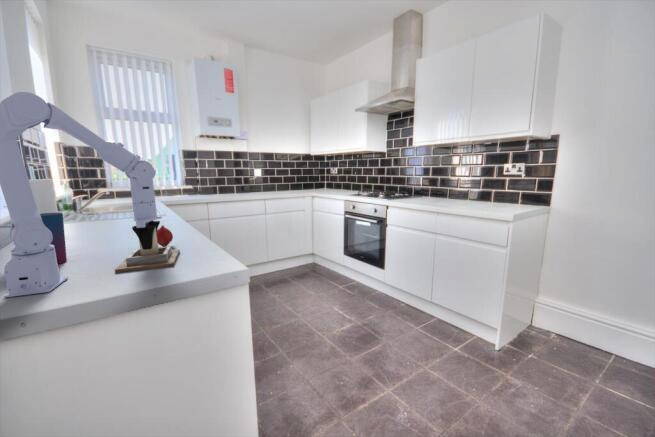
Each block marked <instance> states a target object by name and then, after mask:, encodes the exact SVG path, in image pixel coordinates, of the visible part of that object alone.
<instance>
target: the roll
mask: <svg viewBox="0 0 655 437" xmlns="http://www.w3.org/2000/svg"><path fill="white" fill-rule="evenodd" d="M138 243H139V249H140V251H141V256H147V255H155V254H158V253H159V250H158V247H159V244H158V242H157V235H156V227H155V229H154V233H153V244H152V249H146V250H143V248H142V245H141V243H140V240H139V239H138Z"/></svg>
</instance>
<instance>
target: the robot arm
mask: <svg viewBox="0 0 655 437" xmlns="http://www.w3.org/2000/svg"><path fill="white" fill-rule="evenodd" d="M42 123H43V128H44V129H51V130H52V129H53V130H57V131H62V132H64V133H66V134H67V135H69V136H71V137H72V138H75V139H76V140H79V141H80V142H81V143H83V144H85V145H86V146H88V147H89V148H91V149H93V150H95V151H96V152H97V155H98V158H99V159H101V160H102V161H104V162H105V163H107V164H109V165H111V166H112V167H114V168H116V169H118V170H119V171H120V172H122V173H124V174H125V176H126V177H127V178H128V179H129V182H130V192H131V194H130V195H131V201H132V209H133V221H134V222H135V225H133V226H132V227H131V229H132V231H133V232H134V233H135V235H136V236H137V238H138V241H139V240H140V243H141V245H142V248H143V250H146V249H152V244H153V233H154V229H155V227H156V234H157V230H158V229H159V227H160V226H159V225H160V224H161V221H160V220H159V219H162V215H158V213H157V202H156V195H155V188H154V187H155V186H154V178H155V176H156V174H157V173H156V169H155V167H153V164H151V162H149V161H147V160H141V156H140V155H139V154H134V153H132V152H131V151H130V150H128V149H127V148H125V147H124V146H125V144H123V142H116V141H115V140H104V139H103V138H101V137H100V136H99V135H97V134H96V133H94V132H93V131H92V130H90V128H88V127H86V126H85V125H83V124H81V122H79V121H77V120H76V119H75V118H73V117H72V116H70V115H69V114H67V113H66V112H65V111H63V110H62V109H60V108H59V106H56V105H54V104H53V103H51V102H49V101H48V102H46V101H45V99H43V98H42V97H41V96H39V95H37V94H35V93H32V92H29V91H17V92H15V93H13V94H11V95H9V96H8V97H6V98H4V99H3V100H1V101H0V189H1V192H2V195H3V198H4V201H5V205H6V207H7V210H8V214H9V218H10V222H11V228H10V231H9V238H10V240H11V241H12V242H13V245H14V248H12V249H11V250H10V253H11V258H10V260H9V261H8V262H7V263H6V264H5V266H4V270H3V271H4V273H3V274H4V278H5V283H6V288H7V291H8V292H7V293H5V294H4V295H3V298H11V297H20V296H28V295H35V294H36V295H37V294H43V293H49V292H51V291H53V289H56V288H57V287H58V286H59V285H61V284H62V283H64V282H65V281H66V280H68V279H69V276H61V275H60V272H59V264H57V258H56V252H55V248H54V245H50V244H51V242H52V240H53V235H52V233H51V231H50V230H49V229H48V228H47V227H46V226H45V225H44V224H43V222H42V218H41V216H40V214H39V211H38V209H37V206H36V202H35V199H34V196H33V192H32V189H31V186H30V182H29V180H30V179H29V177H28V173H27V172H28V171H27V169H26V166H25V163H24V159H23V156H22V153H21V149H20V146H19V142H18V138H19V137H20V136H21V135H22V134H23V133H24V132H25V131H27V130H29V129H32V128H34V127H37V126H39V125H40V124H42Z"/></svg>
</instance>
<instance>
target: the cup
mask: <svg viewBox="0 0 655 437" xmlns="http://www.w3.org/2000/svg"><path fill="white" fill-rule="evenodd" d="M40 216H41V218H42V222H43V224H44V225H45V226H46V227H47V228H48V229H49V230H50V231H51V233H52V235H53V240H52V242H51V244H50V245H54V248H55V252H56V258H57V264H58V265H61V264H64V263H67V260H68V259H67V258H68V257H67V248H66V247H67V246H66V237H65V236H66V235H65V225H64V213H63V212H58V213H42V214H40Z"/></svg>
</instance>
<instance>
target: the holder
mask: <svg viewBox="0 0 655 437" xmlns="http://www.w3.org/2000/svg"><path fill="white" fill-rule="evenodd" d="M158 250H159V253H158V254H155V255H147V256H141V251H140V248H137V249H134V250H133V251H132V252H131V253H130V254H129V255H128V256H127V257H126V258H125V259H124V260H123V261H122V262H121V263H119V265H118V266H117V267H116V268H114V272H115V273H114V274H120V273H128V272H138V271H144V270H154V269H163V268H171V267H173V268H174V266H175V263H176V261H177V260H178V257H179V255H180V253H181V250H180V249H179V248H177V249H172V246H170V245H169V246H168V245H167V246H166V247H163V246H160V247H159V246H158ZM179 252H180V253H179ZM176 259H177V260H176Z"/></svg>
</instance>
